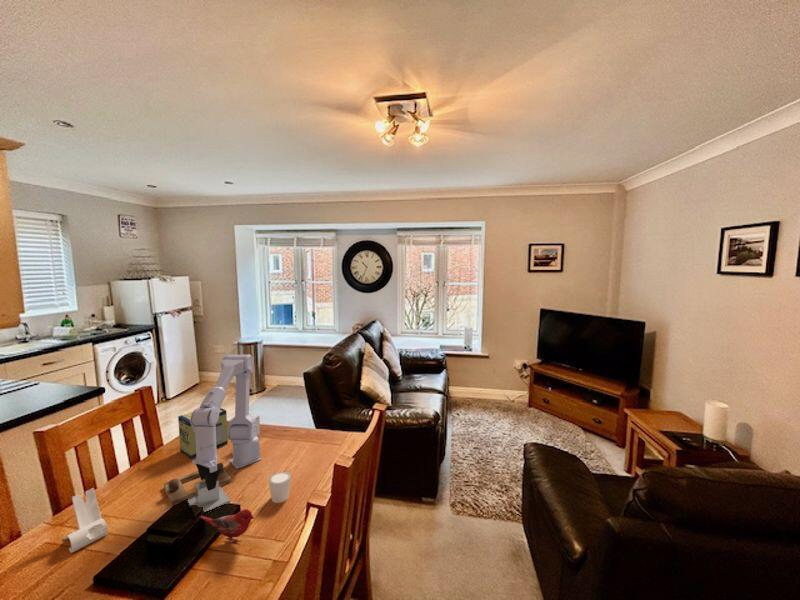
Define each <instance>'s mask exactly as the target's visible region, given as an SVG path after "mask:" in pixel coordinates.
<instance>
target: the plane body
mask: <svg viewBox="0 0 800 600" xmlns="http://www.w3.org/2000/svg"><path fill="white" fill-rule="evenodd" d="M216 464H217V466H221V467H222V470H221V471H220V473H219V475H218V479H217V480H218V482H219V487H222V486H225V485H227V484H229V483H231V482H232V477H231V476H230V475H229V473H228V472H227V471H226V469H225V468H224V464H223V462H219V463H216ZM196 478H200V475H199V472H198V470H197V471H194V472H192V473H189V474H185V475H184V476H180V477H178V478H173V479H171V480H169V481H167V482H164V483H163V489H164V492H165V493H166V495H167V498H168V500H169V502H170V504H171V507H172V506H176V505H178V504H180V503H182V502H181V501H183V500H185V499H188V500H189V499H191V498H193V497H195V489H193V490H191V491H186V489H185V487H184V485H183V484H184V483H185V482H188V481H191V480H194V479H196ZM185 501H186V500H185ZM183 502H184V501H183Z"/></svg>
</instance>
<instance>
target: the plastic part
mask: <svg viewBox="0 0 800 600" xmlns="http://www.w3.org/2000/svg"><path fill="white" fill-rule="evenodd" d="M96 495H97V494H96V492H95V487H92V488H90V489H88V490H86V491H85V502H84V499H83V497H82V496H81V494H80V493H79V494H77V495H72V496H71V501H72V505H73V509H74V514H75V520H76V522H77V523H76V524H77V527H78V530H74V529H72V530H71V531H70V532H71V533H70V534H68V535H66V536H64V537H63V538H62V540H67V539H69V542H70V547H69V549H68V551H69V552H70V554H72V553H75V552H77V551H78V550H80V549H82V548H85V547H86V546H88V545H89V544H90V545H91V543H93V542H96V541H97V540H99V539H101V538H103V537H105V536H107V535H108V531H109V530H108V524H107V522H106V520H105V519H104V518H102V514H101V510H100V507H99V503H98V500H97V496H96Z"/></svg>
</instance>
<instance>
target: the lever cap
mask: <svg viewBox="0 0 800 600" xmlns="http://www.w3.org/2000/svg"><path fill="white" fill-rule="evenodd" d="M194 490H195V502H196V504H197V506H198V507H203V506H205V505H207V504H210V503H212V502H214V501H217V500H219V482H218V480H217V483H216V487H215V488H214V489H212V490H210V491H208V489H207V487H206V482H205V480H201V481H200V482H197V483H196V484H194Z"/></svg>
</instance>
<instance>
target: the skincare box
mask: <svg viewBox="0 0 800 600" xmlns="http://www.w3.org/2000/svg"><path fill="white" fill-rule="evenodd" d="M250 415H251V416H252V417H254V418H255V419H256V425H257V434H256V436H257V437H258V439H259V442H260V440H261V434H260V431H261V429H260V428H261V427H260V415H258V414H250Z"/></svg>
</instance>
